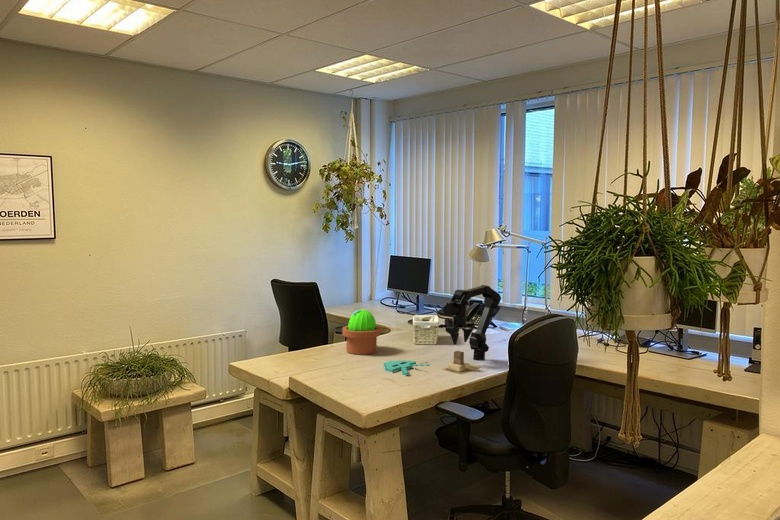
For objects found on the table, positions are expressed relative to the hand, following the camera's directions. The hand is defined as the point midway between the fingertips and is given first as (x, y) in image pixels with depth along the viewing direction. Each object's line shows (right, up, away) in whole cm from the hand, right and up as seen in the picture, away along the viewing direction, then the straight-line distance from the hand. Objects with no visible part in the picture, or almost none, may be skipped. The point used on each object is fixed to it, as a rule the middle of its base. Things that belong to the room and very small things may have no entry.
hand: (460, 343), depth 301 cm
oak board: (0, -13, -9) cm, 16 cm away
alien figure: (-30, -13, -5) cm, 33 cm away
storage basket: (-14, -7, +59) cm, 61 cm away
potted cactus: (-53, -9, +30) cm, 62 cm away
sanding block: (-2, -12, -11) cm, 16 cm away
